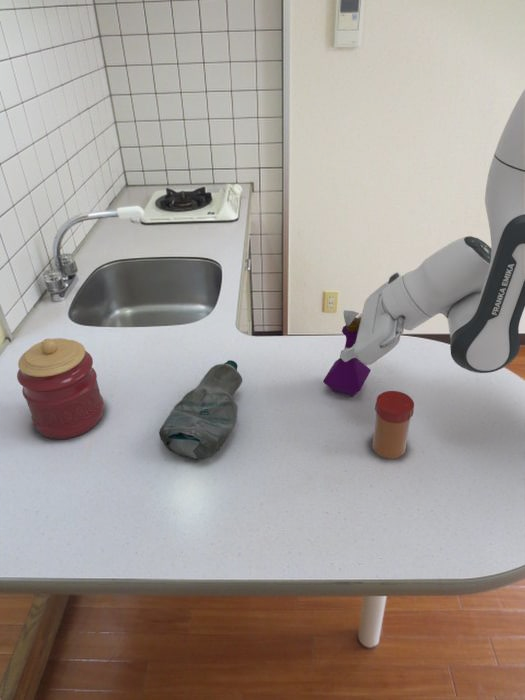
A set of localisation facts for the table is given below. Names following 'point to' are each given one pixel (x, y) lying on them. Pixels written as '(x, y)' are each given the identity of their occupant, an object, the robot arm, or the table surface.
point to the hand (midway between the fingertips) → (345, 344)
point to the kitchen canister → (60, 388)
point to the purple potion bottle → (348, 363)
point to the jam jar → (390, 438)
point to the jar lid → (394, 406)
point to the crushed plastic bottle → (204, 414)
